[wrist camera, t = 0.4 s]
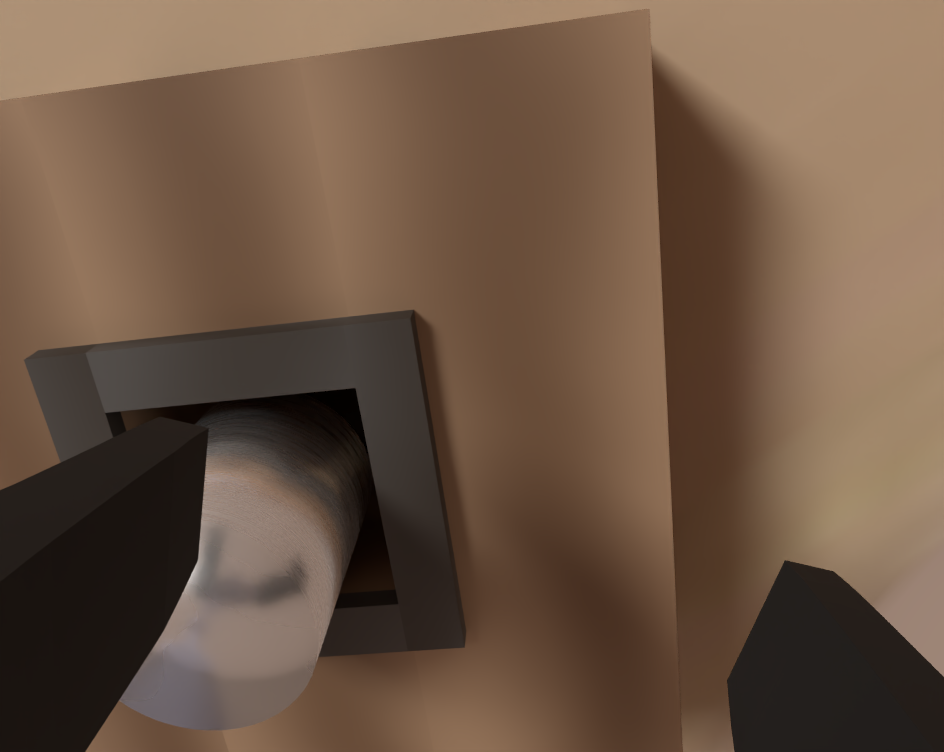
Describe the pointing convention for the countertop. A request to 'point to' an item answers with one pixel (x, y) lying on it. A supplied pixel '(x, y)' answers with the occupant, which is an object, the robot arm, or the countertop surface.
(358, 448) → the steel peg
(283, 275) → the walnut block
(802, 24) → the countertop surface
